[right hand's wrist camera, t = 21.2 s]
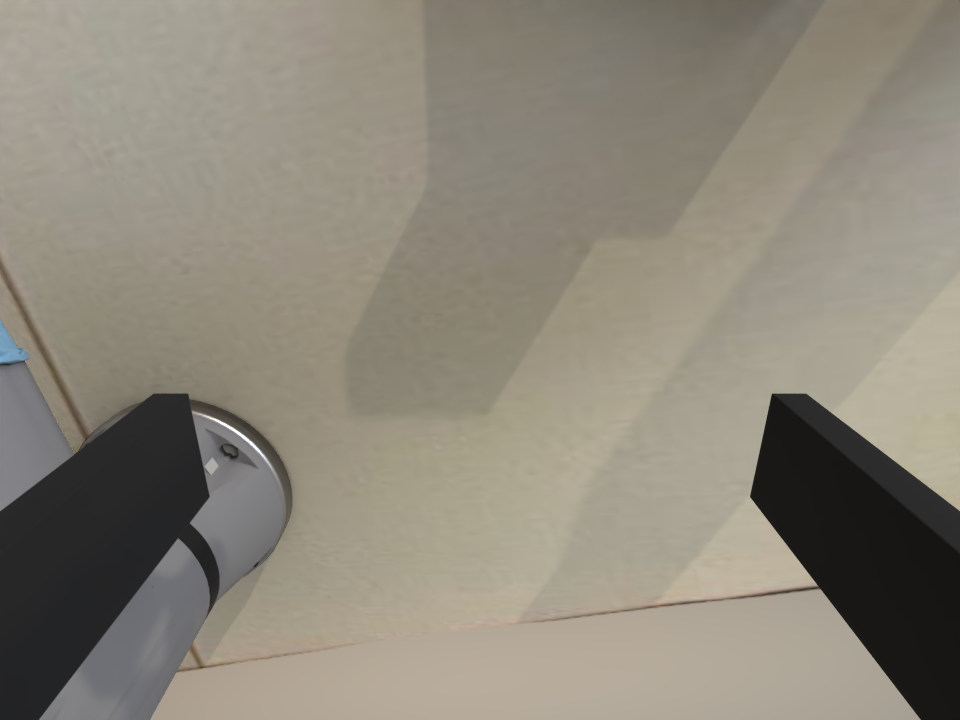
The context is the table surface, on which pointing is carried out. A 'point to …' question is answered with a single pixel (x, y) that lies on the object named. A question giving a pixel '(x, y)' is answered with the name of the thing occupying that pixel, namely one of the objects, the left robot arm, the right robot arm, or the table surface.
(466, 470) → the table surface
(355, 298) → the table surface
